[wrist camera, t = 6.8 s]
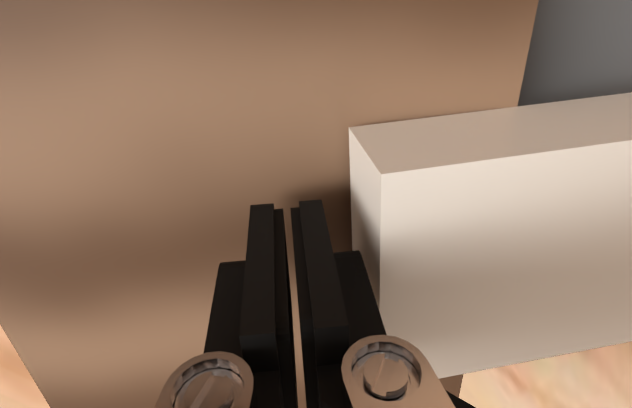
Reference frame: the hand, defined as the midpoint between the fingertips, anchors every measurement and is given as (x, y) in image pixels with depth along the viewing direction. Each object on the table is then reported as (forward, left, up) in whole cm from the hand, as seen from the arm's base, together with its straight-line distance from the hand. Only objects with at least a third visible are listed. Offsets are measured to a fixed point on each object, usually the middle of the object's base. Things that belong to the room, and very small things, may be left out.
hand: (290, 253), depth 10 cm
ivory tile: (0, +6, -1) cm, 6 cm away
